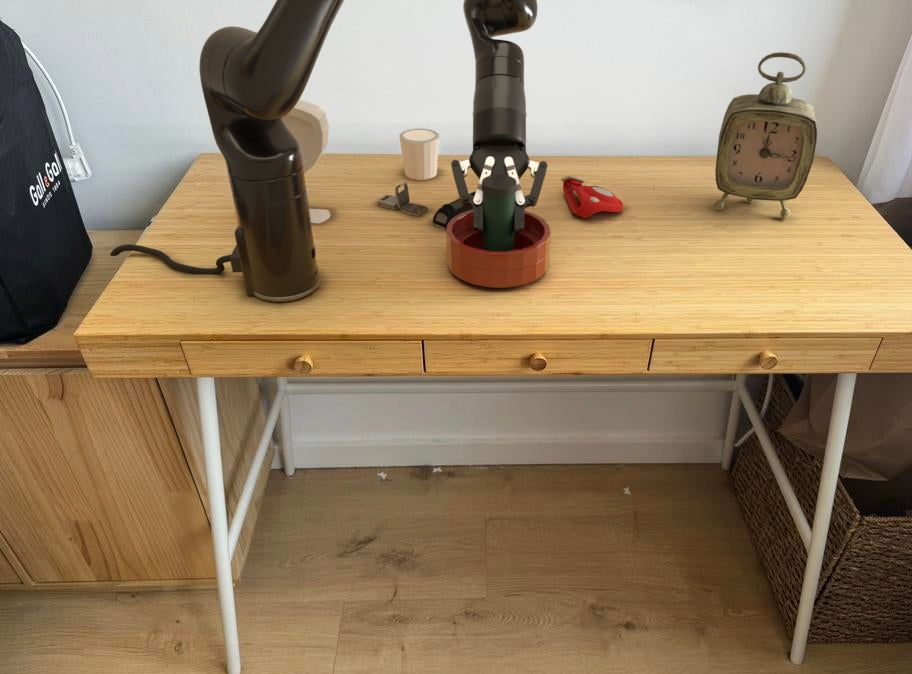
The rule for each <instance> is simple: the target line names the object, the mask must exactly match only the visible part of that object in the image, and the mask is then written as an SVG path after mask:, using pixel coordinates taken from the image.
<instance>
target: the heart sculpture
mask: <svg viewBox="0 0 912 674" xmlns="http://www.w3.org/2000/svg"><path fill="white" fill-rule="evenodd" d="M282 120H283V122H284V124H285V125H286V127H287V128H288V130H289V131H290V132H291V134H292V135H293V136H294V137H295V138H296V140H297V141H298V143H299V145H300V149H301V154H302V161H303V169H304V175H305V174H306V173H307V172H308V171H310V170H311V169H312V168H313V167H314V166H315V165H316V164H317V162H318V161H319V159H320V158H321V156H322V154H323V153H324V150H325V149H326V147H327V145H328V143H329V129H330V124H329V121H328V117H327V114H326V112H325V111H324V110H323V109H322V108H321V107H320V106H319V105H316V104H314V103H311V102H309V101H306V100H302V99H299V101H298V102H297V104H296V105H295V107H294V108H293V109H292V110H291V111H290V112H289V113H288V114H287V115H286V116H284V117H283V118H282ZM309 212H310V219H311V224H319V225H320V224H322V223H324V222H325V221H327V220H328V219H330V218H331V212H330V211H329V209H323V208H322V209H321V208H309Z"/></svg>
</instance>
